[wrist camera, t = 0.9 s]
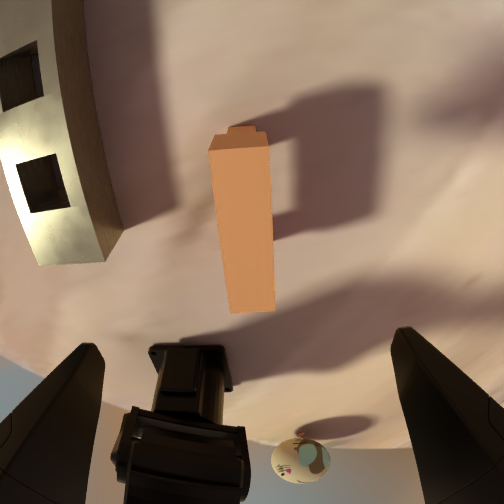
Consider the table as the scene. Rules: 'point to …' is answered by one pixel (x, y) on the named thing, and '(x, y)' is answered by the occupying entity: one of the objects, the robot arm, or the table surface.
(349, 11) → the table surface
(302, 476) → the figurine
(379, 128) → the table surface
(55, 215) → the rail
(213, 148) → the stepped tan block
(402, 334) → the robot arm
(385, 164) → the table surface
